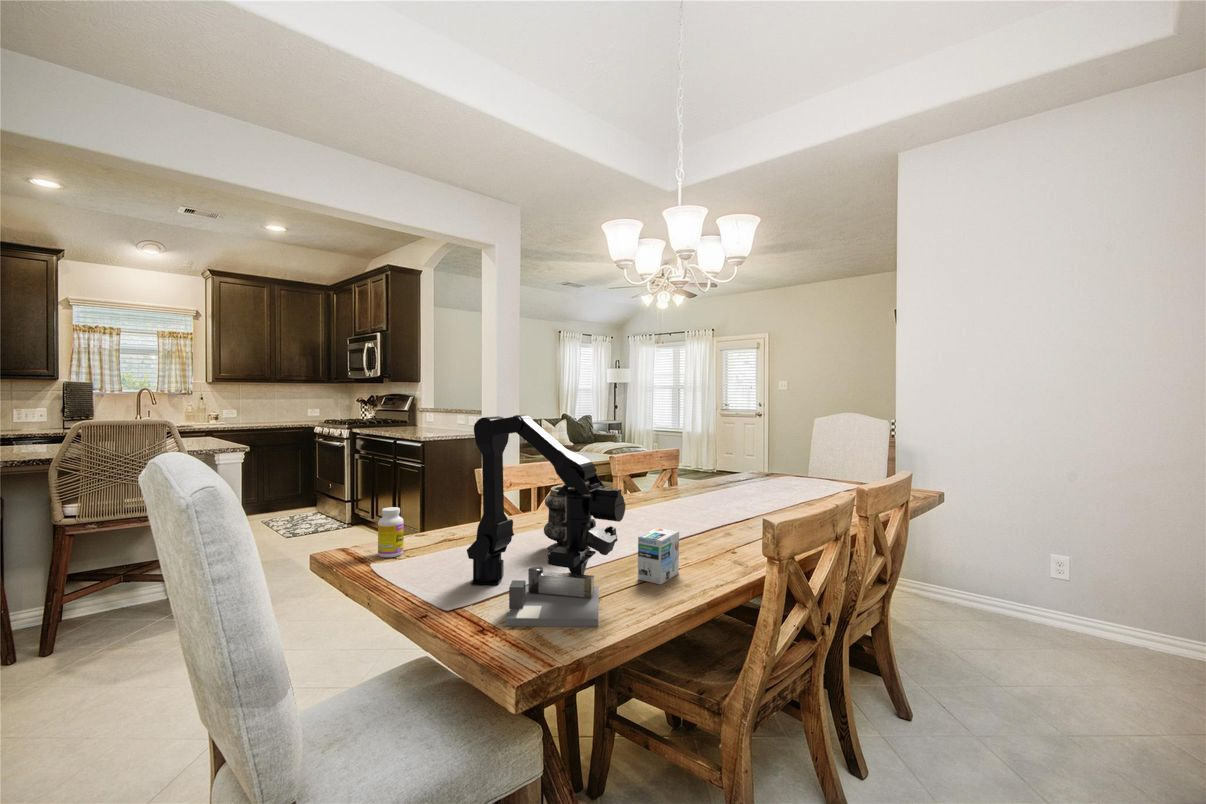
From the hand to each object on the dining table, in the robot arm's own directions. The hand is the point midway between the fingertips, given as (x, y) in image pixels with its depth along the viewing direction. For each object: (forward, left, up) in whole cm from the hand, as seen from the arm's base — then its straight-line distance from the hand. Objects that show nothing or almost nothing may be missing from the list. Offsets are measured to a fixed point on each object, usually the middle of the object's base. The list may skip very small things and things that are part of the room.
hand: (578, 584), depth 121 cm
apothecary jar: (-6, +36, -3) cm, 37 cm away
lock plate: (-5, -6, -3) cm, 8 cm away
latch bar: (-4, -2, -1) cm, 5 cm away
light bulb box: (+19, +14, -3) cm, 24 cm away
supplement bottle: (-54, +30, -3) cm, 61 cm away
